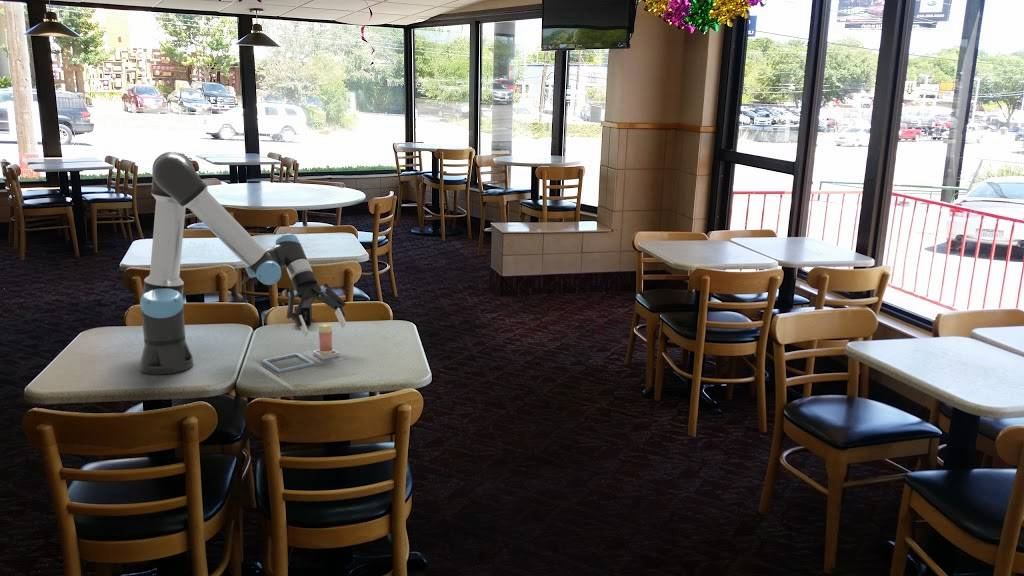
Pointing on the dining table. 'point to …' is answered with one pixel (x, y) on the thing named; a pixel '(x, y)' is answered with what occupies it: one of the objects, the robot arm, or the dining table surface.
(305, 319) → the digital camera
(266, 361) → the tray
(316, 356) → the white rectangular frame
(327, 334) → the fuse
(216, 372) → the dining table surface
